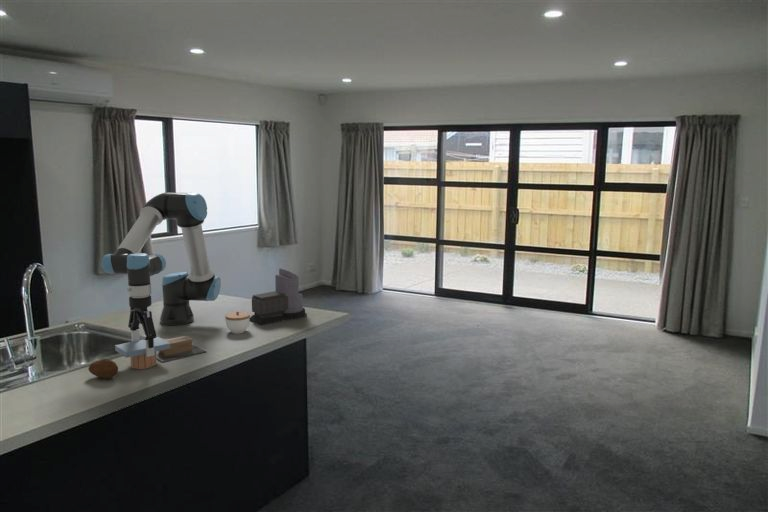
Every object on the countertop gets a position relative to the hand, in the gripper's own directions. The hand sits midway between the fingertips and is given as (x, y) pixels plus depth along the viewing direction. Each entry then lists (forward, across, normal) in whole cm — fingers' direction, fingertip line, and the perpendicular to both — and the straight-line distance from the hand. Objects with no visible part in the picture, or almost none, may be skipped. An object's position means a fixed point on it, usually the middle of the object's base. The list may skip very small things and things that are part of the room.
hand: (143, 351), depth 212 cm
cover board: (-1, 0, 0) cm, 1 cm away
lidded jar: (+6, -15, +48) cm, 51 cm away
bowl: (+5, 0, 0) cm, 5 cm away
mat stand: (+5, -6, +15) cm, 17 cm away
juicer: (+6, -23, +76) cm, 79 cm away
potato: (+6, +4, -15) cm, 16 cm away
